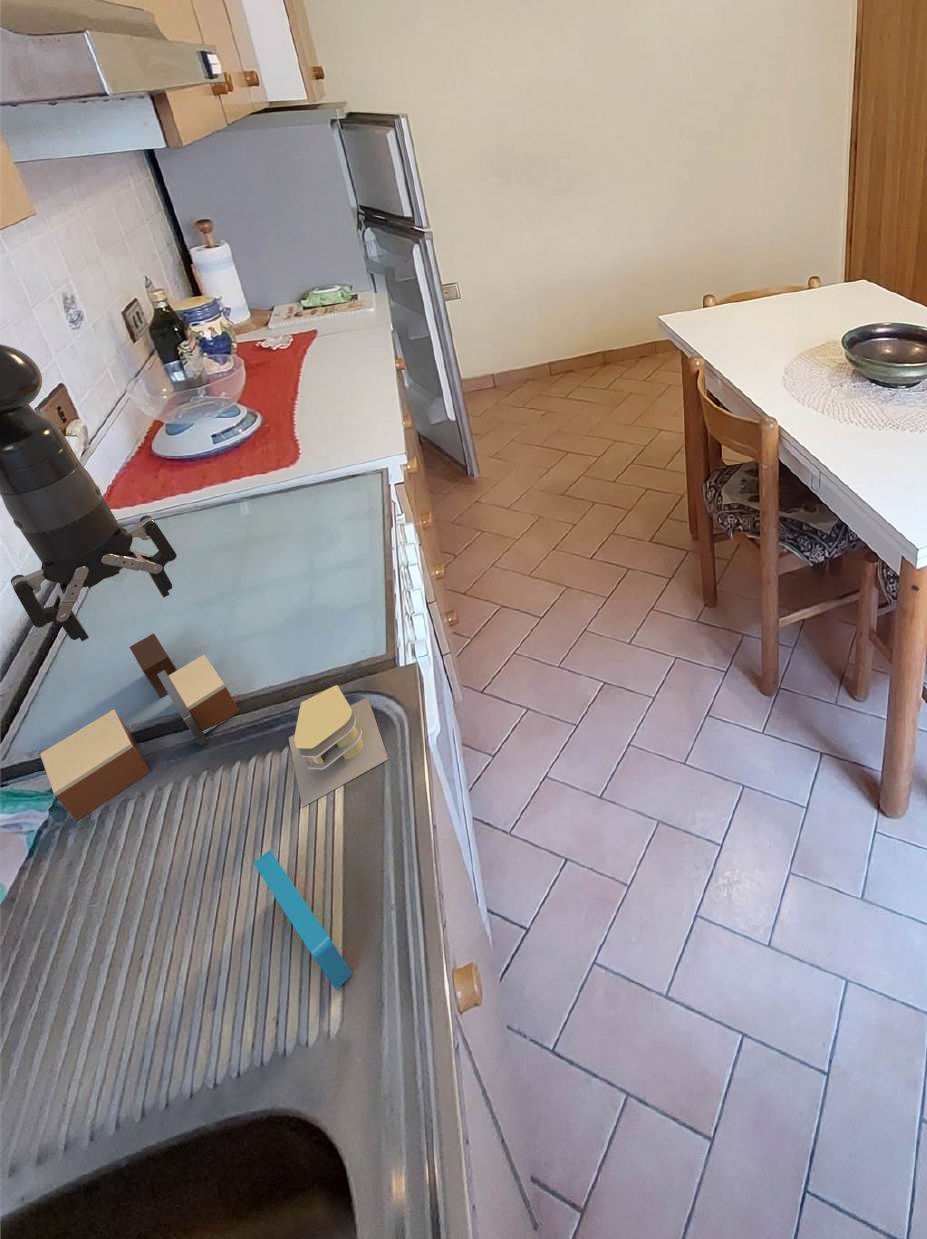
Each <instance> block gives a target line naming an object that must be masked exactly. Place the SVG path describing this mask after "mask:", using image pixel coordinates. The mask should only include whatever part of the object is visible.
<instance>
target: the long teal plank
mask: <svg viewBox="0 0 927 1239" xmlns="http://www.w3.org/2000/svg"><path fill="white" fill-rule="evenodd" d="M253 865H254V866H255V868H256V870H257V871H258V873H259V874H260V876H261V878H262V879H263V881H264V882H265V884H266V885H267V887H268V888H269V890H270V892H271V893H272V895H273V896H274V898H275V900H276V901H277V903H278V904H279V906H280V908H281V909H282V910H283V912H284V914H285V915H286V917H287V918H288V920H289V922H290V923H291V924H292V926H293V928H294V929H295V931H296V933H297V934H298V936H299V937H300V939H301V940H302V942H303V943H304V945H305V947H306V948H307V949H308V951H309V953H310V954H311V956H312V958H313V959H314V960H315V962H316V963H317V964H318V966H319V968H320V969H321V970H322V972H323V973H324V975H325V976H326V978H327V979H328V980H329V982H330V983H331V985H332V986H333V989H335V991H338V990H339V989H340V988H341V987H342V986H343V985H344V984H345V982H347V980H348V979H350V977H352V975H353V972H352V971H351V969H350V967H349V966H348V964H347V962H346V961H345V960H344V957H342V955H341V954H340V952H339V951H338V949H337V947H336V946H335V944H334V943H333V942H332V939H331V938H330V937H329V935H328V933H327V932H326V930H325V929H324V928H323V926H322V924H321V923H320V922H319V920H318V919H317V918H316V916H315V914H314V913H313V911H312V910H311V908H310V907H309V906H308V904H307V903H306V901H305V900H304V898H303V897H302V895H301V894H300V892H299V891H298V889H297V888H296V886H295V885H294V883H293V881H292V880H291V878H290V877H289V876H288V874H287V873H286V871H285V870H284V868H283V867H282V865H281V864H280V863H279V861H278V859H277V858H276V856H275V854H274V853H273V852H272V851H271V849H268V850H267V851H266V852H265V853H264V854H262V855H261V856H260V857H259V858H257V859H256V860H255V861H254V862H253Z"/></svg>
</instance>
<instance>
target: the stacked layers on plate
mask: <svg viewBox="0 0 927 1239" xmlns="http://www.w3.org/2000/svg"><path fill="white" fill-rule="evenodd" d="M288 742H289V747H290V753H291V758H292V763H293V768H294V773H295V778H296V783H297V788H298V794H299V799H300V804H301V808H305V806H307V805H309V804H311V803H313V802H314V801H316V800H318V799H320V798H322V797H323V796H325V795H327V794H329V793H331V792H333V791H334V790H336V789H338V788H340V787H341V786H344V785H345V784H347V783H348V782H350V781H352V780H354V779H356V778H357V777H359V776H361V775H362V774H365V773H366V772H368V771H370V770H372V769H373V768H375V767H377V766H379V765H381V764H383V763H384V762H386V761H388V760H389V756H388V754H387V750H386V747H385V744H384V741H383V739H382V735H381V732H380V728H379V726H378V723H377V720H376V717H375V714H374V711H373V708H372V705H371V702H370V698H369V697H368V696H367V697H364V698H363V699H361V700H359V701H357V702H355V703H353V704H351V705H350V704H349V702H348V701H347V699H346V697H345V695H344V694H343V692H342V691H341V689H340V687H339V685H338V684H336V685H333V686H332V687H331V686H330V687H329V688H327V689H325V690H324V691H322V692H320V693H317V694H315V695H314V696H311V697H310V698H308V699H305V700H303V701H301V702H300V704H299V711H298V716H297V721H296V727H295V731H294V734H293V735H290V736H289V737H288Z"/></svg>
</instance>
